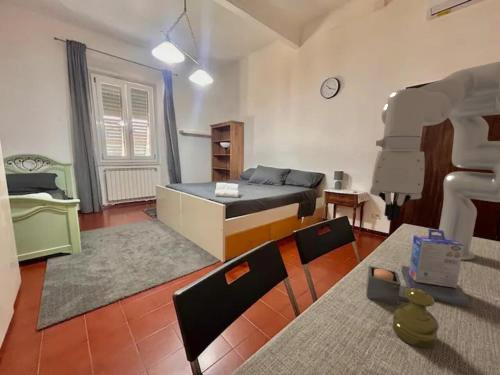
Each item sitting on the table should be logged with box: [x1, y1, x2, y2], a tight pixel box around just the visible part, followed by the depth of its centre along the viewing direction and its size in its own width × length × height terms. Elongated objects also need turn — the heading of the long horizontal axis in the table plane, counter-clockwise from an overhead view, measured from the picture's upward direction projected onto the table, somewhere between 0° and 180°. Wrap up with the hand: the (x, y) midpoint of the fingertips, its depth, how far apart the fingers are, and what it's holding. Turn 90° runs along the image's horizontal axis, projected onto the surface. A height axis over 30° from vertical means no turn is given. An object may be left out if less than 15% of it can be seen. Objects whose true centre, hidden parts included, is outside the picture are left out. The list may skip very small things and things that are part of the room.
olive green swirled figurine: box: [392, 288, 440, 350], centre depth 46 cm, size 7×7×10 cm
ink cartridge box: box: [409, 228, 464, 288], centre depth 62 cm, size 10×6×14 cm, turn 75°
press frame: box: [365, 265, 470, 309], centre depth 62 cm, size 21×22×6 cm
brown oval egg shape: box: [373, 268, 394, 281], centre depth 59 cm, size 4×4×6 cm
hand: (391, 219), depth 56 cm, fingers closed
